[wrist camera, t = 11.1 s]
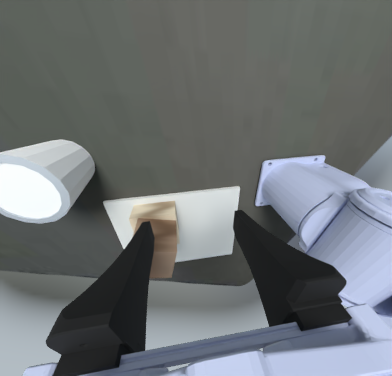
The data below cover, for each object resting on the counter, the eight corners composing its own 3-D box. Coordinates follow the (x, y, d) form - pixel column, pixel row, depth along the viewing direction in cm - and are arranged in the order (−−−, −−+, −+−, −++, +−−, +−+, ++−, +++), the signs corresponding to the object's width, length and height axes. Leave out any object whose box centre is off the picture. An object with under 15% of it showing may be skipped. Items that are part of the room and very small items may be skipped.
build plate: (238, 186, 24) (240, 188, 23) (231, 251, 32) (232, 254, 32) (104, 200, 22) (102, 203, 22) (133, 265, 30) (132, 269, 30)
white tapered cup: (92, 135, 18) (52, 156, 12) (106, 187, 21) (80, 223, 15) (23, 131, 17) (-60, 152, 11) (49, 186, 20) (-3, 225, 14)
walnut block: (176, 220, 21) (177, 252, 17) (171, 244, 24) (171, 277, 19) (138, 217, 20) (128, 250, 16) (137, 243, 23) (129, 278, 18)
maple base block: (174, 200, 23) (175, 213, 21) (179, 229, 26) (179, 243, 24) (133, 205, 23) (128, 219, 20) (143, 233, 26) (139, 248, 23)
